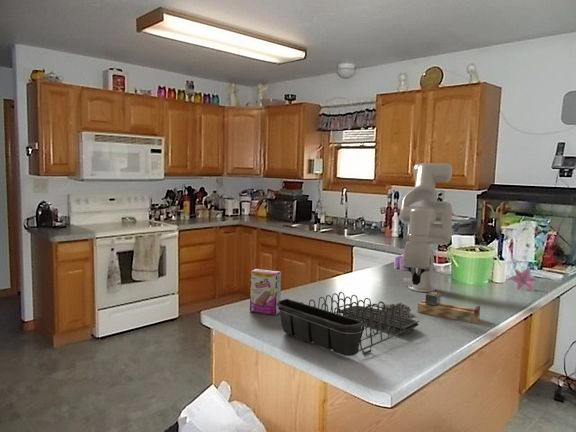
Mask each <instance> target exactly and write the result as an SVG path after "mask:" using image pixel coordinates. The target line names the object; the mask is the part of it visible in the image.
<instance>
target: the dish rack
mask: <svg viewBox="0 0 576 432" xmlns="http://www.w3.org/2000/svg"><path fill="white" fill-rule="evenodd" d="M341 294H342V295H343V298H340V296H341ZM335 295H336V297H337V301H336V300H334V296H335ZM345 295H346V294H345V292H343V291H339V292H338V293H332V295H330V294H328V295H326V296H325V297H323V296H320V297H319V298H318V303H317V304H316V301H315V300H314V299H310V300H308V301H309V302H308V304H306V303H304V302H302V301H301V302H299V301H296V300H292V299H290V298H284V299H280V301H278V302H277V306H279V307H278V309H279V308H280V309H279V310H280V312H279V315H280V323H281V327H282V330H283V332H284V333H285V334H288V335H290V336H292V337H293V336H295V337H296V338H297V339H300V340H303V341H306V342H307V343H313V344H314V345H316V346H318V347H320V348H324V350H325V349H326V350H328V351H330V350H331V351H333V352H334V353H336V354H339V355H341V356H345V357H352V356H355V355H357V354H358V353H359V352H361V353H362V355H367V354H370V353H372V350H373V349H372V347H374V346H376V345H378V344H380V343H383V342H385V341H387V340H389V339H391V338H394V337H396V336H398V335H400V334H402V333H405V332H406V335H410V334H412V333H414V328H416V327H418V326H419V324H418V323H419V322H420V320H415V319H412V318H410V316H411V315H409V314H406V313H402V312H400V308H399V307H398V306H397V305H395V306H394V307H393V309H392V308H385V305H386V304H385V303H384V301H381V300H380V301H378V303H372V301H371V299H370V298H368V297H365V298H364V300H362V299H358V296H357V295H356V294H352V295H351V297H350V296H345ZM328 297H329V298H330V304H331V305H330V311H329V305H328V304H327V299H328ZM353 297H355V298H356V301H352V300H353ZM321 299H322V300H323V303H322V304H321V303H320V300H321ZM347 299H349V303H347V302H346V301H347ZM340 300H341V301H342V302H343V304H342V305H340V302H341V301H340ZM366 300H368V301H369V304H368V303H366ZM311 302H313V304H314V305H311ZM334 302H335V303H336V307H334V306H333V303H334ZM360 302H362V304H363V306H362V305H359V304H360ZM320 304H321V308H320ZM354 304H355V305H354ZM365 304H366V305H365ZM380 304H382V305H384V307H381V306H380ZM316 305H317V307H316ZM347 306H348V307H347ZM333 307H334V308H333ZM395 307H397V308H399V311H396V310H394V308H395ZM323 308H324V309H323ZM341 308H342V309H341ZM383 309H384V310H383ZM385 309H387V310H385ZM388 310H391V311H392V312H388ZM394 311H395V313H394ZM396 312H398V313H399V315H398V314H396ZM401 314H405V315H408V316H405V315H402V316H401ZM367 322H368V325H367ZM376 325H377V328H376V332H375V331H374V329H375V328H374V326H376ZM382 326H383V327H382ZM368 328H369V335H368V333H367V331H368V330H367V329H368ZM392 329H393V335H390V332H389V330H392ZM396 331H399V332H397V333H396ZM364 332H365V336H366V337H365V338H363V339H362V337H363V334H364ZM384 332H387V333H386V334H387V337H386V338H384V339H383V333H384ZM372 333H373V334H372ZM379 334H380V340H378V341H376V342H375V343H373V337H374V336H377V335H379ZM367 339H370V345H367V346H365V347H363V345H362V341H365V340H367ZM368 348H369V350H366V349H368ZM364 350H366V351H364Z"/></svg>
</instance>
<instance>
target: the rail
mask: <svg viewBox="0 0 576 432" xmlns="http://www.w3.org/2000/svg"><path fill="white" fill-rule="evenodd" d="M425 300H426V299H425ZM425 300H424V299H421V300H420V302H418V303H417V313H420V314H425V315H430V316H435V317H436V316H437V317H442V318H447V319H451V320H457V321H463V322H467V323H474V324H477V323H478V322H479V320H480V314H481V305H477V306H476V307H475V308H472V307H466V306H460V305H455V304H449V303H444V302H440V303H439V304H438V305H437V306H435V305H430V304H425Z"/></svg>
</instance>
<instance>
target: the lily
mask: <svg viewBox="0 0 576 432" xmlns="http://www.w3.org/2000/svg"><path fill="white" fill-rule="evenodd" d="M514 273H515V275H512V276H510V277H508V278H507V279H508V280H509V281H511V282H514V283H517V284H516V285H517V286H516V287H517V288H516V289H517V291H520V290H522V289H523V288H526V289H528V290H529V291H531V292H534V285H533V283H536V282H537V281H538V280H537V279H536V278H534V277H531V267H528V268H526V269H524V270H523V271H519V270H518V269H516V268H514Z"/></svg>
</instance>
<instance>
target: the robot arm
mask: <svg viewBox="0 0 576 432" xmlns="http://www.w3.org/2000/svg"><path fill="white" fill-rule="evenodd" d="M412 170H413V171H412V172H413V173H412V174H413V179H414V188H412V189H411V190H410V191H408V192H407V194H405V196H404V197H403V199H402V201H401V206H400V211H399V219H400V222H401V223H402V224H404V225H408V227H409V229H408V234H406V235H404V236H405V237H404V238H405V239H407V240H408V241H406V242H405V247H404V253H403V254H404V258H403V264H404V266H403V267H404V268H405V269H408V270H407V271H409V272H410V274H411V277H410V278H408V277H403V278H402V281H403V283H405V284H408V285H407V289H409V290H411V291H415V292H419V293H429V292H436V287H435V286H434V285H433V279H434V278H433V276H434V275H433V274H434V260H435V259H434V256H435V254H434V253H435V252H434V251H433V249H432V247H431V245H440V246H444V245H449V244H450V243H451V239H452V229H453V228H452V227H453V206H452V205H451V203H450V202H449V201H442V200H441V201H438V200H437V195H438V194H437V189H436V183H449V182H450V181H451V179H452V175H453V167H452V165H451V163H448V162H447V163H445V162H444V163H443V162H423V163H422V162H421V163H417V164H415V165H414V167H413V169H412ZM415 203H417V204H416V205H417V206H413V204H415ZM411 205H412V206H411ZM435 222H439V223H435ZM440 223H441V224H440Z"/></svg>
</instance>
